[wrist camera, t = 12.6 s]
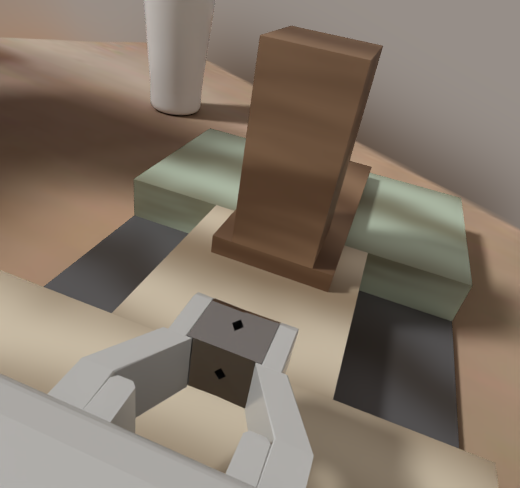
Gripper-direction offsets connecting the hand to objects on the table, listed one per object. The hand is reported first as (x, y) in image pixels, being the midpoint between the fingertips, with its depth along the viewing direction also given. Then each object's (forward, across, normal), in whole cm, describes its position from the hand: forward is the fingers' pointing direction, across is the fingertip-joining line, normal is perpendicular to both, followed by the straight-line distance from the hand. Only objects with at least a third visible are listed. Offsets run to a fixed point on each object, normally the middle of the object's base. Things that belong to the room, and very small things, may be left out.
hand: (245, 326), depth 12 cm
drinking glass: (+33, -20, -7) cm, 39 cm away
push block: (+15, -1, -4) cm, 15 cm away
